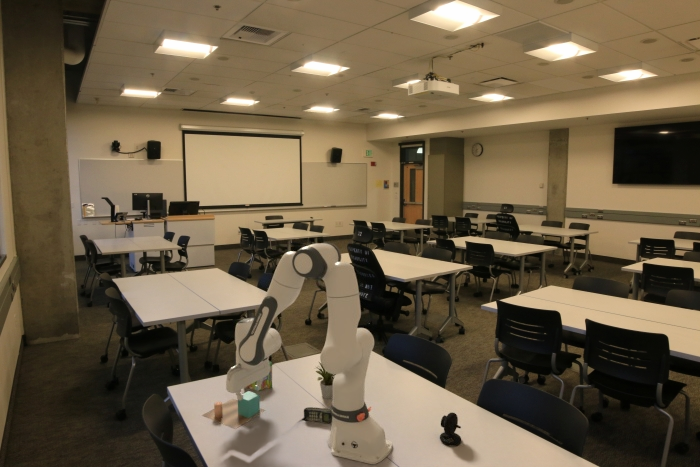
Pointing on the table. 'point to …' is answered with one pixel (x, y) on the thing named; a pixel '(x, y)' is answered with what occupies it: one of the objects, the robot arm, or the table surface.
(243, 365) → the robot arm
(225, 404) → the walnut board
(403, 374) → the table surface
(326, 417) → the mobile phone
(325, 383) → the house plant
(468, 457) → the table surface
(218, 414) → the terracotta peg
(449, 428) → the webcam
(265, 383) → the chalk box
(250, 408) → the mint green cube
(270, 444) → the table surface
